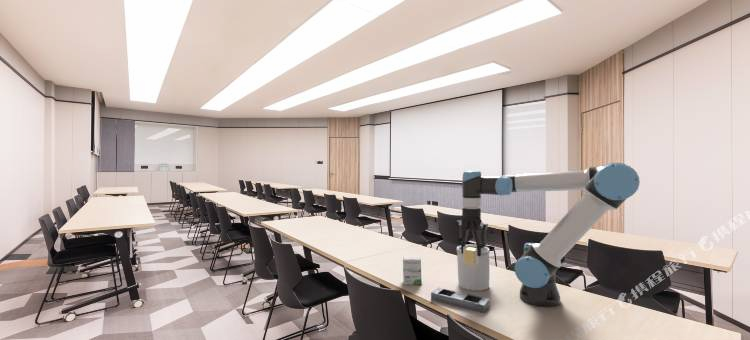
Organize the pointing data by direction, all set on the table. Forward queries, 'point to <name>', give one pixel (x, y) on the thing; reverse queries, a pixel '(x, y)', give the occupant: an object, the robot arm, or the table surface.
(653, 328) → the table surface
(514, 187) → the robot arm
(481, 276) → the utensil holder
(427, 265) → the table surface
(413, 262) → the ink box
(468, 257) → the block
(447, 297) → the grey slotted tray
